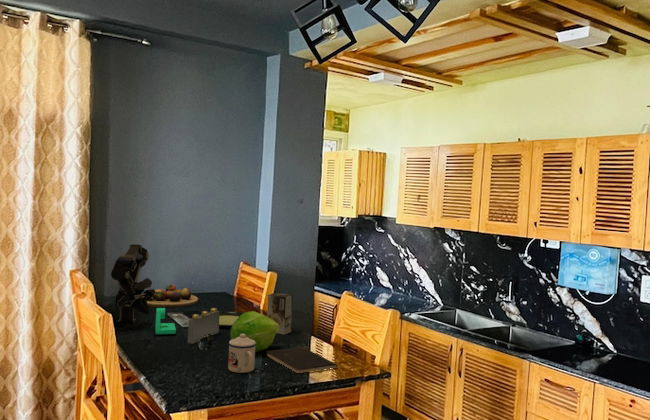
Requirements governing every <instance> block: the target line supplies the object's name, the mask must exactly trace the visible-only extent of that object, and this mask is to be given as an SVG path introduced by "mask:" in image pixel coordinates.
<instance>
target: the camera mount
mask: <svg viewBox="0 0 650 420" xmlns="http://www.w3.org/2000/svg"><path fill="white" fill-rule="evenodd" d="M155 308H156V309H155V310H156V311H155V322H154V323H155V324H154V325H155V326H154V330H155V332H154V334H155V335H174V334H176V331H177V328H176V326H175V325H176V324H175V323H173V322H168V323H167V322H165V323H164V322H162V323H161V320H163V319H165V317H166V308H164V307H163V308H162V307H155Z"/></svg>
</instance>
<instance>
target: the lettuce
mask: <svg viewBox="0 0 650 420" xmlns="http://www.w3.org/2000/svg"><path fill="white" fill-rule="evenodd" d="M279 328H280V327H279V324H278V323H276V322H275V321H274V320H272V319H271V318H269V317H267V315H264V314H262V313H259V312H257V311H254V310H252V311H247V312H244V313H243V314H242V315H241V316H239V317H238V318H237V320H236V321H235V322H234V323H233V325H232V327H230V330H229V331H230V335H229V336H230V340H232V339H235V338H237V337H240V334H246V337H248V338H250V339H252V340H254V341H255V342H256V346H255V353H257V352H260V351H263V350H267V349H268V348H269V347H270V346H271V344H272V343H273V341H274V339H275V338H276V337H275V336H276V334H278V333H277V332H278V330H279Z"/></svg>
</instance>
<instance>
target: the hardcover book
mask: <svg viewBox="0 0 650 420" xmlns="http://www.w3.org/2000/svg"><path fill="white" fill-rule="evenodd" d="M265 352H266V353H267V354H266V356H267V357H269V359H272V360H273V361H275V362H277V363H278V364H279V363H280V365H281V364H282V365H281V366H283V365H284V366H285V368H286V367H287V368H286V369H288V368H289V369H291V370H292V371H291V370H290V371H291V372H293V371H294V372H296V373H303V372H310V371H316V370H324V369H330V368H336V367H337V368H338V364H337V363H335V362H333V361H331V360H328V359H327V358H325V357H323V356H321V355H319V354H317V353H315V352H314V351H311V350H309V349H307V348H306V347H304V346H300V347H291V348H282V349H281V348H280V349H274V350H273V349H272V350H265ZM284 366H283V367H284ZM289 369H288V370H289ZM294 372H293V373H294ZM296 373H295V374H296Z"/></svg>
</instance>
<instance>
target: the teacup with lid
mask: <svg viewBox="0 0 650 420" xmlns="http://www.w3.org/2000/svg"><path fill="white" fill-rule="evenodd" d="M255 346H256V342H255V341H254V340H252V339H250V338H248V337H246V334H240V337H237V338H235V339H230V340H229V342H228V364H227V365H228V367H227V369H228V370H229V372H234V373H242V374H244V373H250V372H252V371H254V369H255V361H256V359H255V358H256V352H255Z"/></svg>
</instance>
